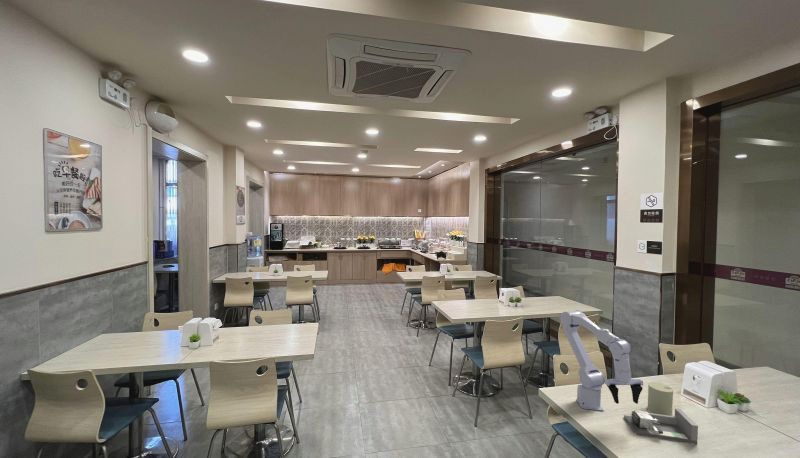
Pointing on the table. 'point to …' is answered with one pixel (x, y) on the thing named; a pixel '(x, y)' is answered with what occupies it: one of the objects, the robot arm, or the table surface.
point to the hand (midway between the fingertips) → (626, 402)
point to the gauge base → (669, 427)
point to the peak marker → (659, 430)
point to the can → (660, 399)
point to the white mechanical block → (644, 420)
